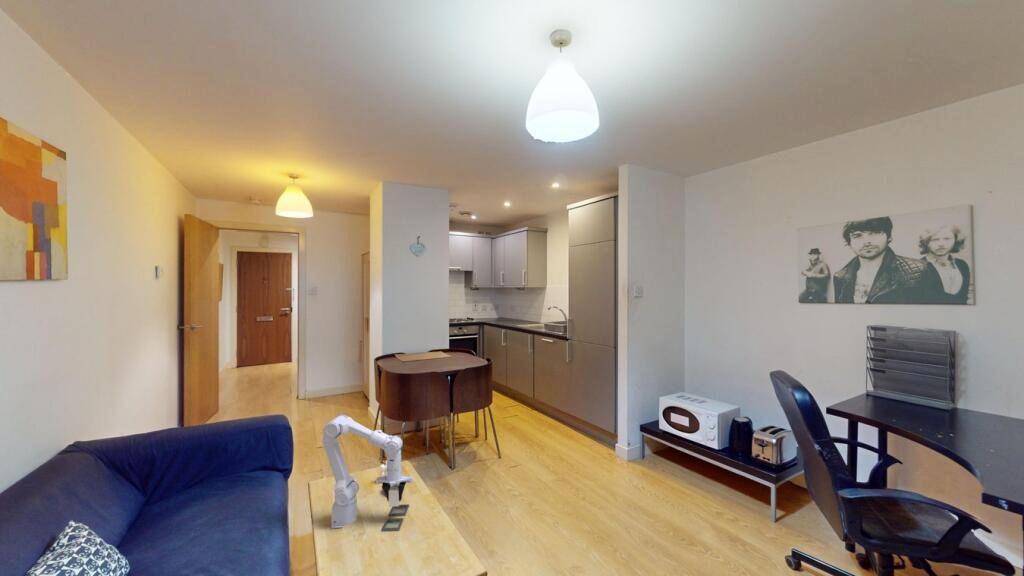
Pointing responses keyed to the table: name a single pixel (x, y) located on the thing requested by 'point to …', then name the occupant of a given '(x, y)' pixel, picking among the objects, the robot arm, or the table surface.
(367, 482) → the table surface
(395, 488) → the plug
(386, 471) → the blocky character figurine
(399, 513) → the panel
